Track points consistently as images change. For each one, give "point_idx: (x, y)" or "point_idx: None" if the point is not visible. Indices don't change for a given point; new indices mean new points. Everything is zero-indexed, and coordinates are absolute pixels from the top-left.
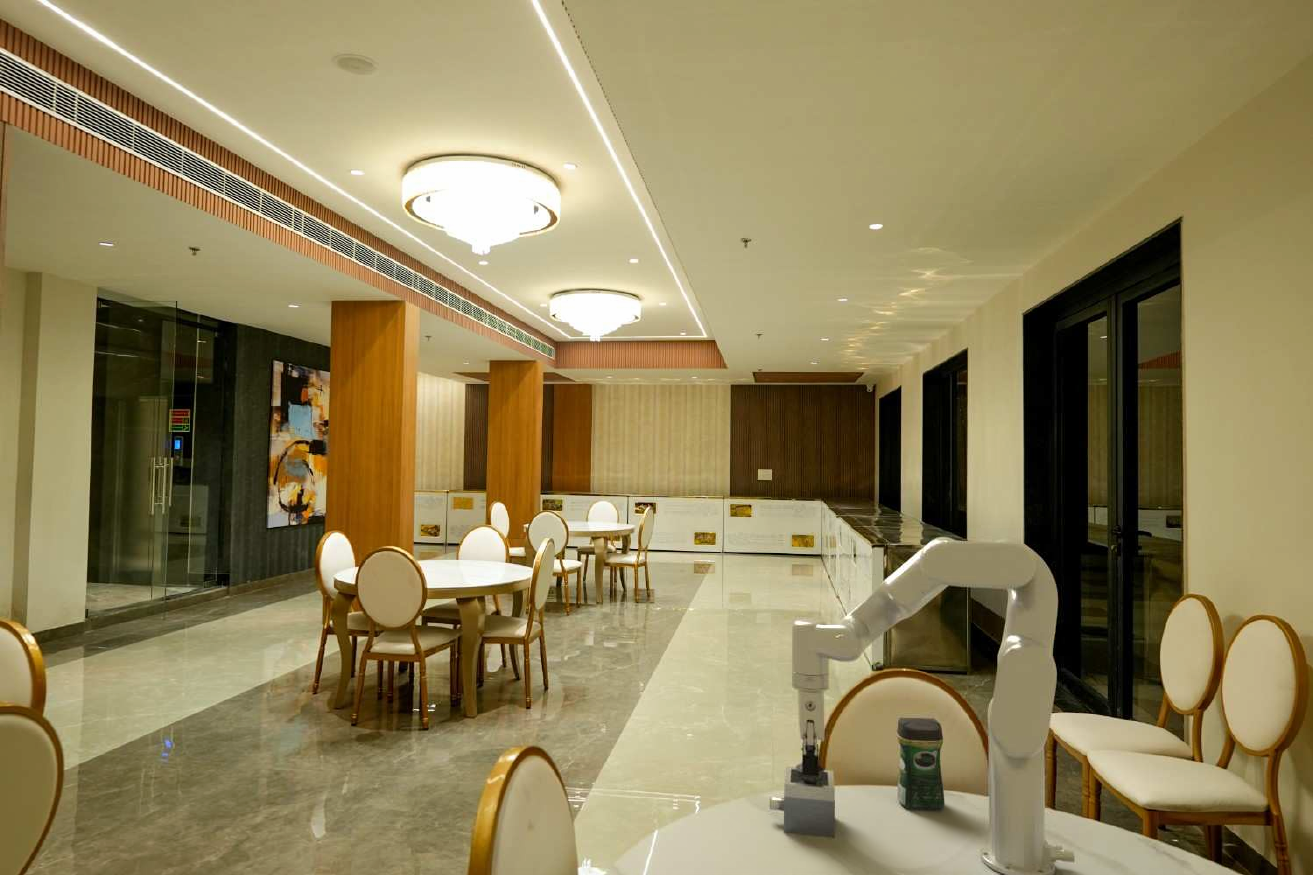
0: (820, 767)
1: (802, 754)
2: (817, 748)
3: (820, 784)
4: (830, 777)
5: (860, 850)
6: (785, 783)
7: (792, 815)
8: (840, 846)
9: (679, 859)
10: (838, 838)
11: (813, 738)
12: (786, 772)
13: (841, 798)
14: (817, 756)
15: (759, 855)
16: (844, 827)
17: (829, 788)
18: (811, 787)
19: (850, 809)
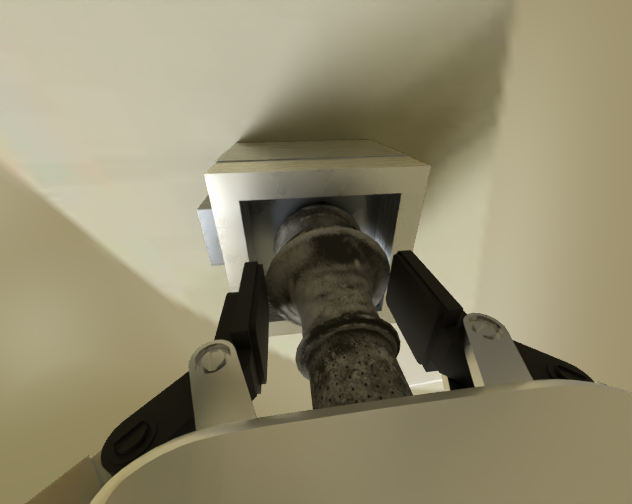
0: (337, 249)
1: (435, 369)
2: (345, 328)
3: (322, 216)
4: (303, 185)
5: (433, 65)
6: (391, 320)
7: None
8: (412, 124)
9: None
10: (369, 129)
11: None
12: (297, 330)
13: (68, 111)
14: (458, 309)
15: (449, 276)
16: (299, 109)
17: (426, 187)
18: (411, 250)
19: (151, 80)
